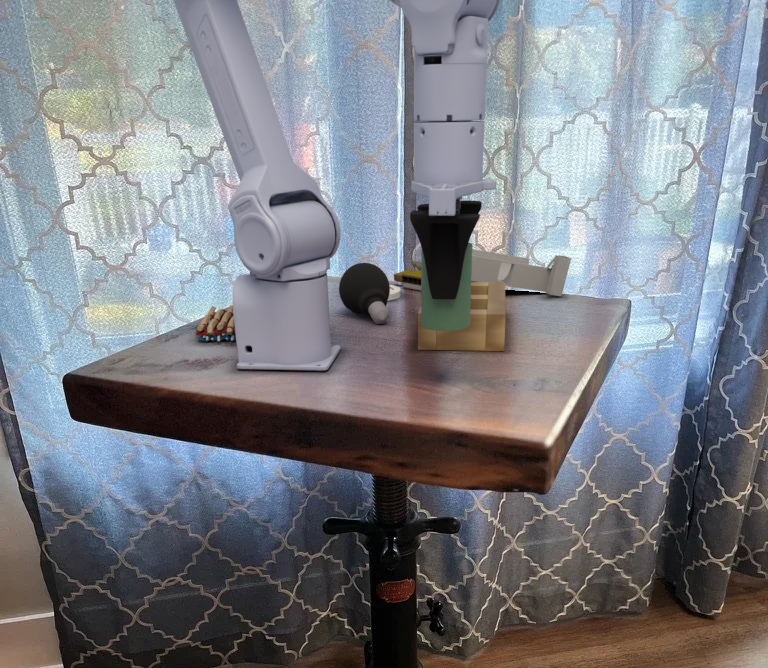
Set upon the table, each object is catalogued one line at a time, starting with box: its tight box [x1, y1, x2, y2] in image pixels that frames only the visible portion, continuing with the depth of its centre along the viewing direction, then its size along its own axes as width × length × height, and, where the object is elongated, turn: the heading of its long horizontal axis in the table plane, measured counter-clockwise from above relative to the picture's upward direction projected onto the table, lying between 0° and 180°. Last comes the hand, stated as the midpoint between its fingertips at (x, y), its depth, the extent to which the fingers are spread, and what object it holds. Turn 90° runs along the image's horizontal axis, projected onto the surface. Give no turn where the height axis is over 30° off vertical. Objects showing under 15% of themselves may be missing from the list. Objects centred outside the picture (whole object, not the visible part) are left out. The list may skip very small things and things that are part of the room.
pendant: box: [387, 284, 402, 302], centre depth 111 cm, size 7×11×1 cm, turn 34°
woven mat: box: [195, 304, 236, 343], centre depth 93 cm, size 10×11×2 cm
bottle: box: [420, 200, 473, 331], centre depth 68 cm, size 4×4×10 cm
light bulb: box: [338, 262, 391, 325], centre depth 97 cm, size 6×6×10 cm
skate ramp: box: [471, 243, 572, 297], centre depth 109 cm, size 15×13×5 cm
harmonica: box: [393, 269, 475, 292], centre depth 111 cm, size 15×3×2 cm, turn 41°
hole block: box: [417, 282, 507, 352], centre depth 91 cm, size 9×17×4 cm, turn 173°
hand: (445, 292), depth 69 cm, fingers closed on bottle, 4 cm apart
